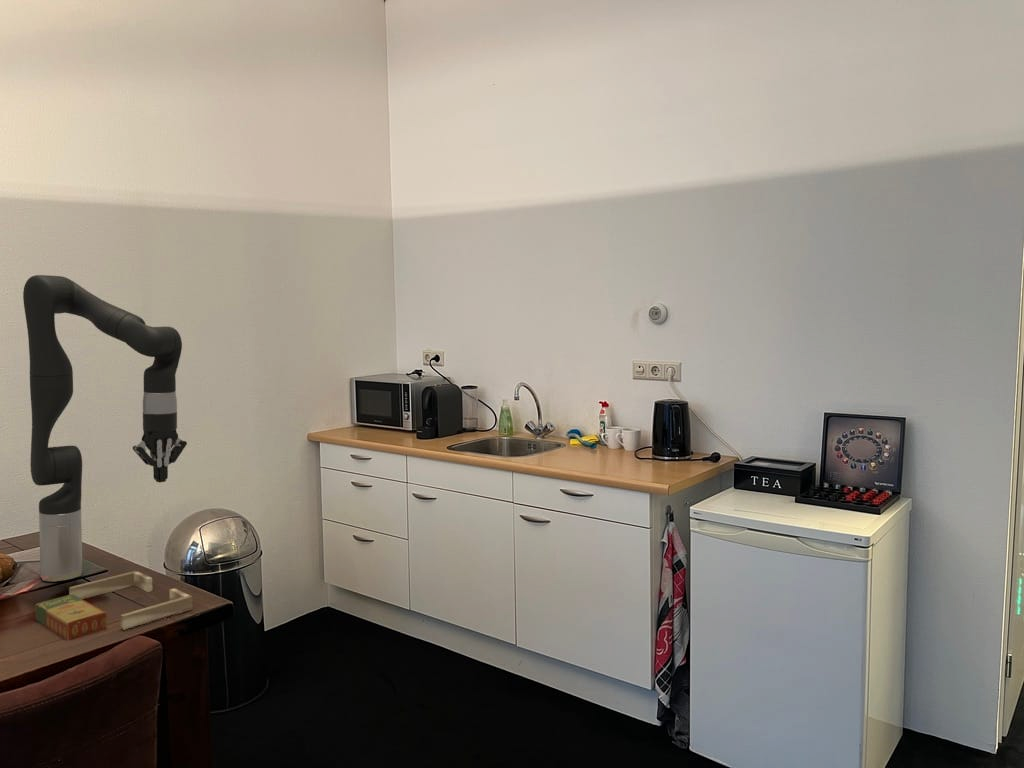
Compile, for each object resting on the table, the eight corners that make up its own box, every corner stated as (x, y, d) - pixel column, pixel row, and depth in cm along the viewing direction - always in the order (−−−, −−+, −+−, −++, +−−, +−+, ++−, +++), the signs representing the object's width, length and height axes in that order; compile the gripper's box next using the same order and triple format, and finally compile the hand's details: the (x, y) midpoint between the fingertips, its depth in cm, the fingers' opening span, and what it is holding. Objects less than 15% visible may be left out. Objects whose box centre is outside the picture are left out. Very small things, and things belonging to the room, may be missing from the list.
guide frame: (69, 600, 190) (69, 587, 189) (136, 583, 202) (136, 570, 202) (123, 630, 174) (123, 616, 174) (192, 609, 187) (192, 596, 187)
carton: (66, 642, 169) (66, 622, 168) (34, 621, 179) (33, 602, 178) (107, 630, 175) (106, 611, 175) (73, 610, 185) (73, 592, 185)
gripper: (177, 406, 201) (177, 475, 203) (124, 411, 191) (125, 483, 193) (194, 409, 197) (194, 480, 199) (141, 414, 186) (141, 488, 188)
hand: (160, 481), depth 196 cm, fingers closed
